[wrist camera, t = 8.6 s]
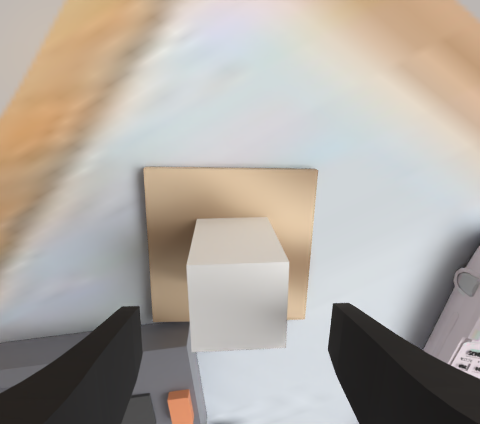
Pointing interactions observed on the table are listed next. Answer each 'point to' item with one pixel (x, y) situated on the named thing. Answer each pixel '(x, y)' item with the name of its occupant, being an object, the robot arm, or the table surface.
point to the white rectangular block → (237, 285)
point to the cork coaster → (224, 206)
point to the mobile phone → (460, 322)
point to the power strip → (149, 377)
